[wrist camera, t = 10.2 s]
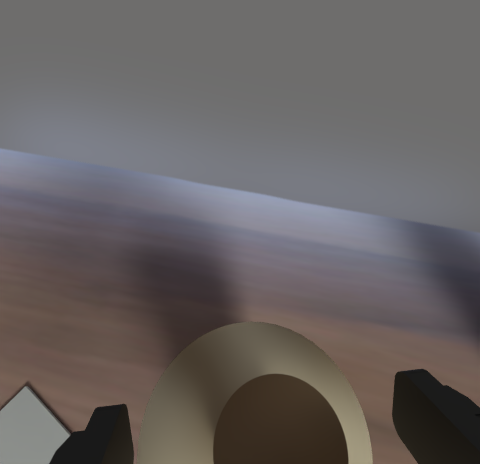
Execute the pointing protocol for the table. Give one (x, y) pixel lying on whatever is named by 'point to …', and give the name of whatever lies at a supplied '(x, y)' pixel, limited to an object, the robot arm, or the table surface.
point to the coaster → (29, 431)
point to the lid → (253, 403)
